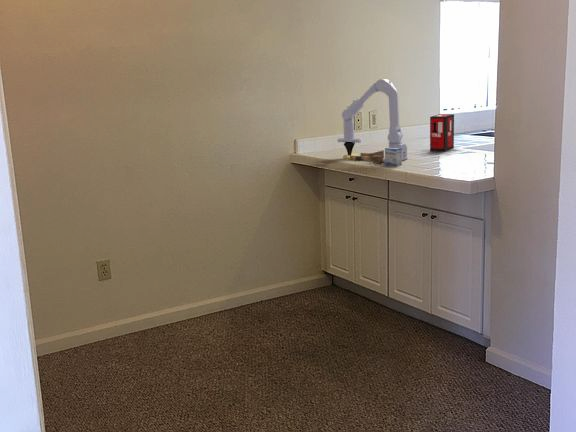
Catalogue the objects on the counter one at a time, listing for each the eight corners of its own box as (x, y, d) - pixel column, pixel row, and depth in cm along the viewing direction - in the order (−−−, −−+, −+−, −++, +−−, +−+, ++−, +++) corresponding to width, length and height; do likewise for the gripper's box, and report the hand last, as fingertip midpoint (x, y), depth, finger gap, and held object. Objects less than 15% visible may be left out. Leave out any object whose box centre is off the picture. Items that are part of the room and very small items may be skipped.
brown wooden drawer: (384, 159, 353) (384, 150, 352) (371, 162, 343) (371, 153, 342) (362, 157, 362) (362, 149, 361) (348, 161, 352) (348, 152, 351)
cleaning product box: (439, 147, 388) (439, 114, 384) (453, 147, 384) (454, 114, 379) (430, 151, 375) (430, 116, 370) (444, 151, 370) (445, 116, 366)
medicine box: (384, 164, 335) (384, 148, 333) (389, 163, 338) (389, 147, 336) (397, 165, 329) (396, 149, 327) (402, 164, 332) (401, 148, 330)
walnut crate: (382, 163, 341) (382, 155, 340) (380, 164, 338) (380, 156, 337) (375, 162, 343) (375, 155, 342) (373, 164, 339) (373, 156, 338)
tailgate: (362, 156, 360) (352, 153, 363) (352, 158, 352) (343, 155, 356) (362, 158, 360) (352, 155, 364) (352, 160, 353) (342, 157, 357)
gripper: (363, 130, 355) (364, 154, 358) (342, 130, 364) (343, 153, 367) (356, 131, 349) (357, 156, 352) (335, 131, 358) (335, 155, 362)
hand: (349, 155), depth 359 cm, fingers closed, pressing on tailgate
